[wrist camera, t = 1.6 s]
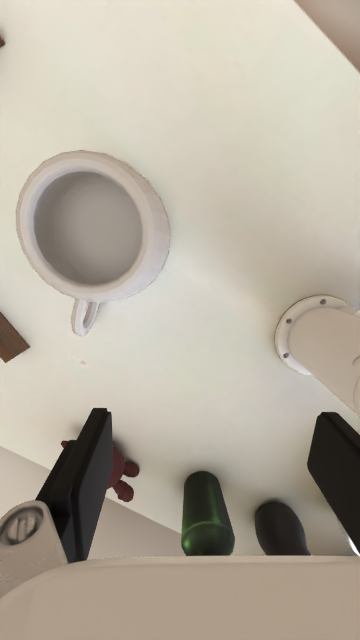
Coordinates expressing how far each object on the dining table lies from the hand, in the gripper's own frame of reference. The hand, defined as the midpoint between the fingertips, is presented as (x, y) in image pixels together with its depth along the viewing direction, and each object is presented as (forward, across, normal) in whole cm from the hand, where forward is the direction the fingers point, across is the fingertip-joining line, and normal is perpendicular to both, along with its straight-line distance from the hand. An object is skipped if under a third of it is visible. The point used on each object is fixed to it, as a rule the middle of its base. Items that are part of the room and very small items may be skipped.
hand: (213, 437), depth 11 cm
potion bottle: (+27, -4, +34) cm, 44 cm away
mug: (+27, +11, -7) cm, 30 cm away
